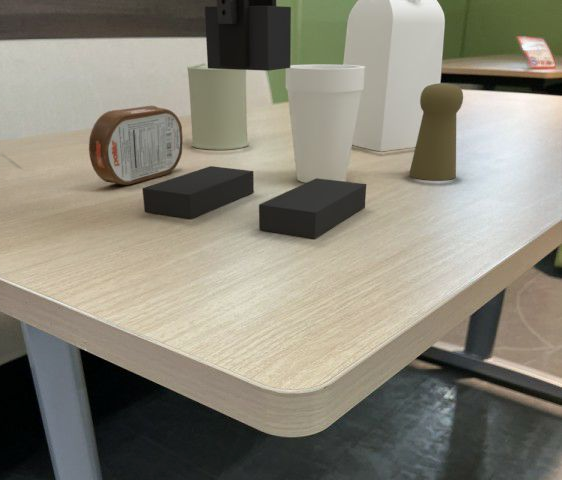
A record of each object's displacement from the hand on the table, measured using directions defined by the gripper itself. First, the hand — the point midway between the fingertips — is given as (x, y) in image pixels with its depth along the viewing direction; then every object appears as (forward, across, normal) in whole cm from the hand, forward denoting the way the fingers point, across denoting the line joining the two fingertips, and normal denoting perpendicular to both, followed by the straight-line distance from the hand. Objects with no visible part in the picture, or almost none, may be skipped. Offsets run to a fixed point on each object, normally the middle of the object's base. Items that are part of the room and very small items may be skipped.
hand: (249, 64), depth 59 cm
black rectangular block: (0, 0, 0) cm, 0 cm away
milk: (+14, +49, +3) cm, 51 cm away
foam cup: (+14, +19, +1) cm, 24 cm away
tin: (+14, +8, +21) cm, 26 cm away
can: (+14, +34, +26) cm, 45 cm away
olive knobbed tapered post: (+14, +28, -11) cm, 33 cm away
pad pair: (+14, +2, +1) cm, 14 cm away
